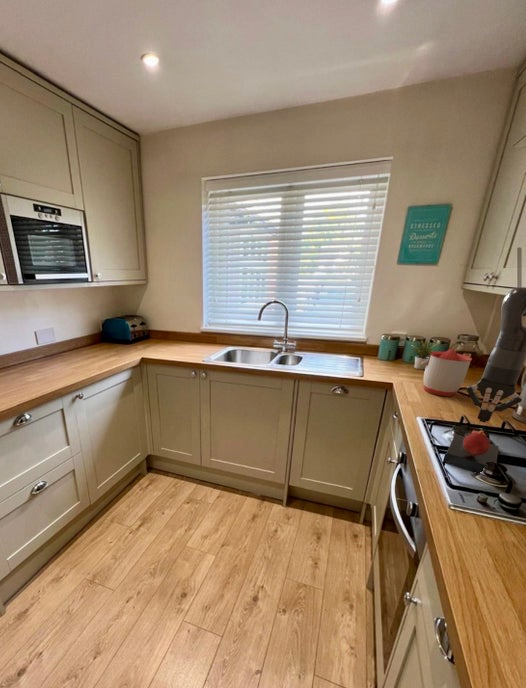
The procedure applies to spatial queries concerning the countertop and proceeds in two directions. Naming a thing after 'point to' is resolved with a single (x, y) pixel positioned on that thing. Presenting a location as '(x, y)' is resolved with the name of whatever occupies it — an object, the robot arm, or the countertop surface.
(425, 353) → the house plant
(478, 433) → the onion
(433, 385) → the citrus juicer
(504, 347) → the robot arm
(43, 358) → the countertop surface
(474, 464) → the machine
